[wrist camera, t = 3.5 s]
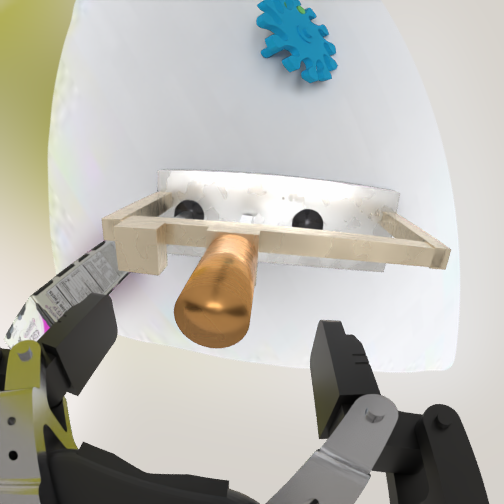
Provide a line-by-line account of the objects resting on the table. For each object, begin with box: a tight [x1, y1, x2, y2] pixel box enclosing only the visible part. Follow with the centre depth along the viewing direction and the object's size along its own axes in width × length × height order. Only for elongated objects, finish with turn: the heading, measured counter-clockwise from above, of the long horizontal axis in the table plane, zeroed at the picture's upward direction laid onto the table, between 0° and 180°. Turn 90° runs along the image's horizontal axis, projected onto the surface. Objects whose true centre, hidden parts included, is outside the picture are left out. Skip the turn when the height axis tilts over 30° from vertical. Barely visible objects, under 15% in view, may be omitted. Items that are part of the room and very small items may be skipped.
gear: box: [256, 0, 338, 83], centre depth 20 cm, size 11×6×10 cm
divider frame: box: [102, 169, 451, 275], centre depth 23 cm, size 9×25×14 cm, turn 86°
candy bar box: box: [4, 240, 130, 349], centre depth 25 cm, size 11×5×16 cm, turn 126°
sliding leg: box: [174, 215, 260, 348], centre depth 19 cm, size 3×3×18 cm
